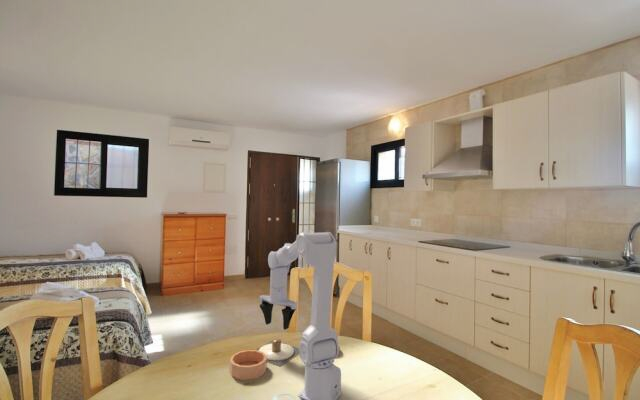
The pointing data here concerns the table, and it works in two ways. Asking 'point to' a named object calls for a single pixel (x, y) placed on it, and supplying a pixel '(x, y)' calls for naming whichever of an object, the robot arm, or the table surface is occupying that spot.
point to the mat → (282, 362)
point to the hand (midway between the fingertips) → (277, 326)
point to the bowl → (248, 364)
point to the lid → (277, 350)
